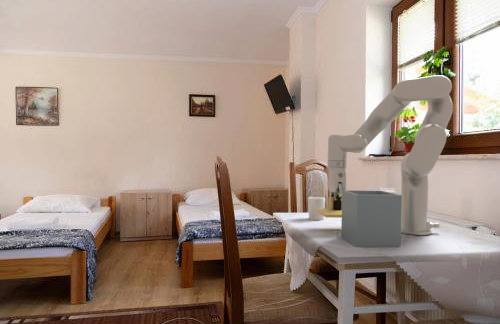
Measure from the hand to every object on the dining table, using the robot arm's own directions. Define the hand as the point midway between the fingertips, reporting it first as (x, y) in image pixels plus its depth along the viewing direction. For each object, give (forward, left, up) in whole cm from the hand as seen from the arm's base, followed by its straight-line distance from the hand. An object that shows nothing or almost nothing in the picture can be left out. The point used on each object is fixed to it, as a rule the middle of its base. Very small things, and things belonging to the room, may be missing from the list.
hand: (335, 208), depth 155 cm
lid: (0, +6, -1) cm, 6 cm away
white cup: (+3, -20, -8) cm, 22 cm away
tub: (-4, +25, -8) cm, 27 cm away
